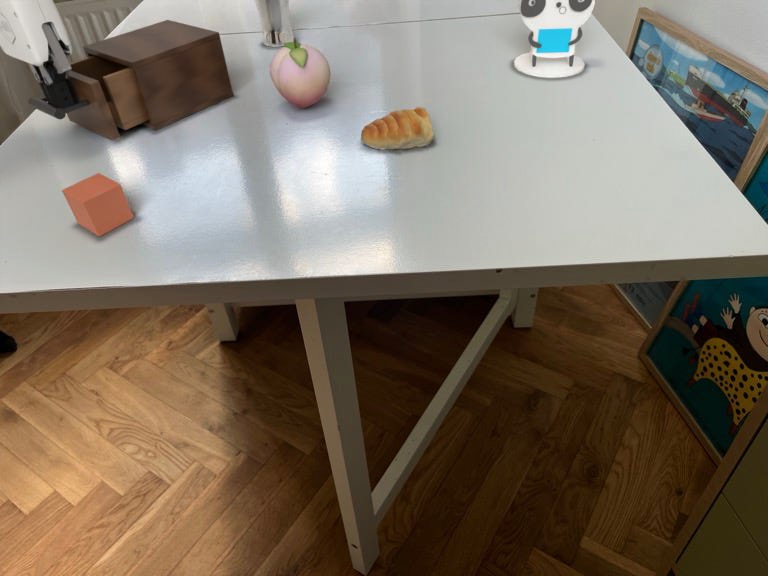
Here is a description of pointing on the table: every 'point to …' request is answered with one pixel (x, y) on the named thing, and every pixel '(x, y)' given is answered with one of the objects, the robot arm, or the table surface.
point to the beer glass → (275, 22)
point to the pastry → (399, 130)
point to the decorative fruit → (300, 73)
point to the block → (98, 204)
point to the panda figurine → (553, 36)
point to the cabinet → (171, 68)
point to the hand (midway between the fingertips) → (66, 109)
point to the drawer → (100, 97)
